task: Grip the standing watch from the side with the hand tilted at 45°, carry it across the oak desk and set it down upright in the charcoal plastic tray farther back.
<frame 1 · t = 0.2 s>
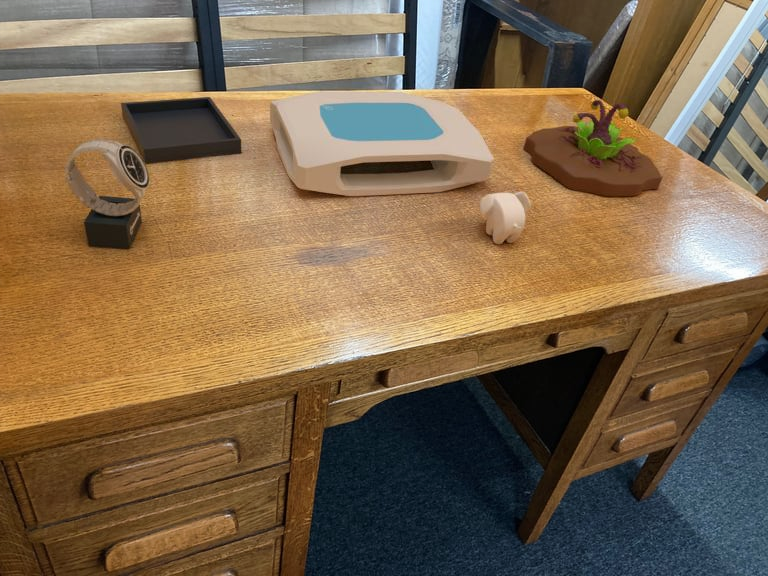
watch: (117, 235, 71), on the table
elephant figurine: (497, 236, 81), on the table
tray: (180, 134, 91), on the table
plant: (589, 167, 101), on the table
document scanner: (374, 160, 93), on the table
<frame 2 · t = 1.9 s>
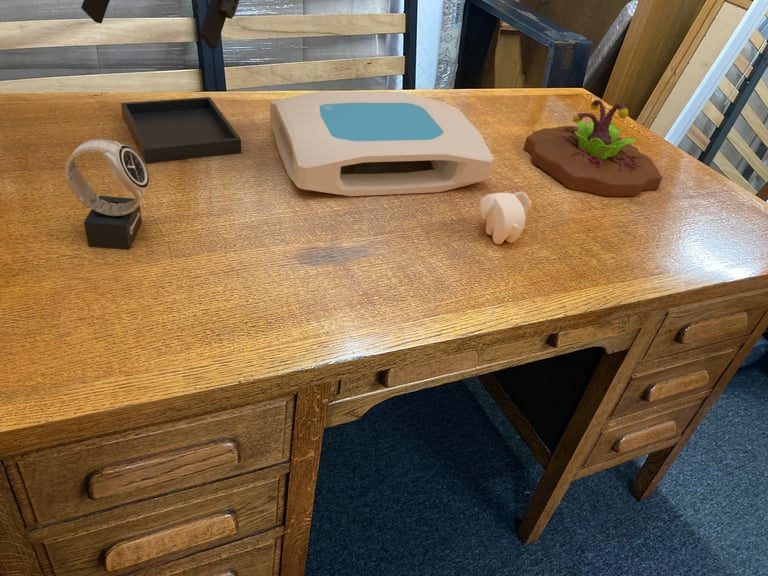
hand: (148, 29, 66), 20 cm above the table, tool tilted 45°, fingers open, 13 cm apart
nothing on the table moved.
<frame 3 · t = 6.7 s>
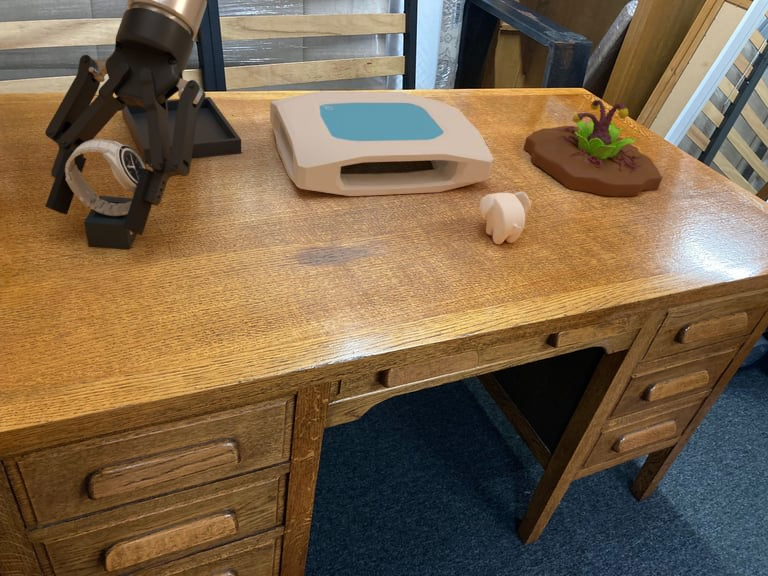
hand: (94, 220, 66), 4 cm above the table, tool tilted 45°, fingers closed on watch, 8 cm apart
watch: (117, 235, 71), on the table, touching gripper
everything else where it was.
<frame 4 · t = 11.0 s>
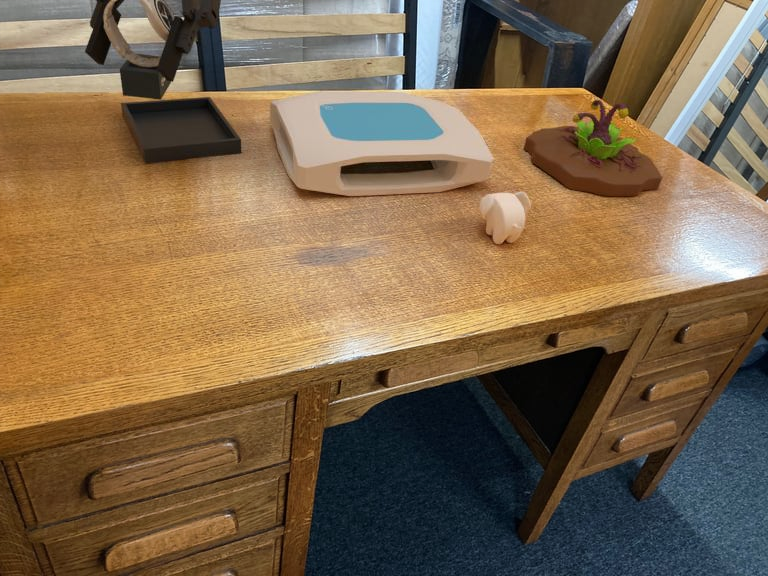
hand: (129, 66, 71), 15 cm above the table, tool tilted 45°, fingers closed on watch, 8 cm apart
watch: (148, 90, 76), point 11 cm above the table, touching gripper
everything else where it was.
when the fingers open (4 cm above the table, at t = 15.6 s): watch stays where it is, resting on tray.
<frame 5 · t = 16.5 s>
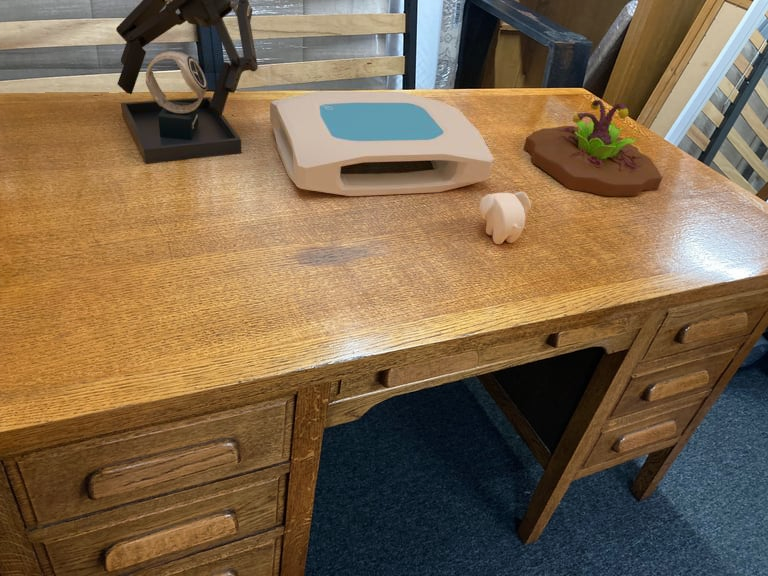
hand: (169, 100, 86), 6 cm above the table, tool tilted 45°, fingers open, 13 cm apart
watch: (180, 131, 91), resting on tray
everything else where it was.
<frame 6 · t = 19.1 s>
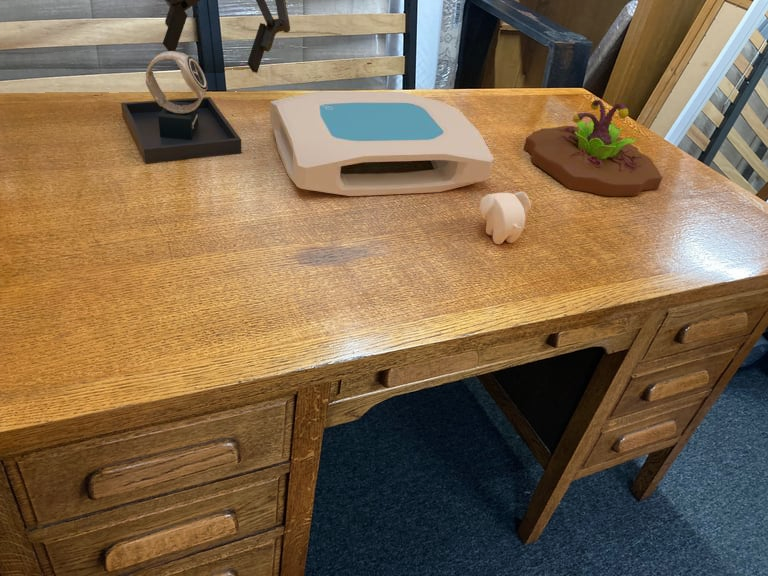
hand: (209, 58, 94), 8 cm above the table, tool tilted 45°, fingers open, 13 cm apart
nothing on the table moved.
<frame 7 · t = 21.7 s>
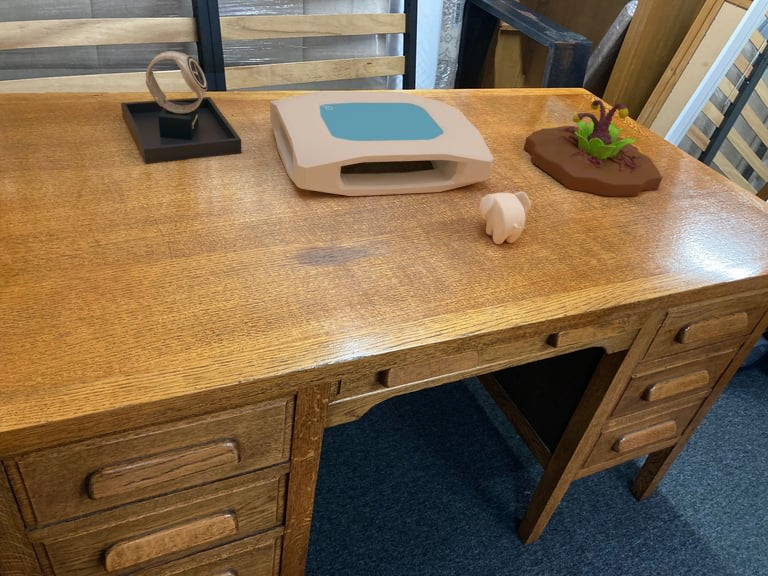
nothing on the table moved.
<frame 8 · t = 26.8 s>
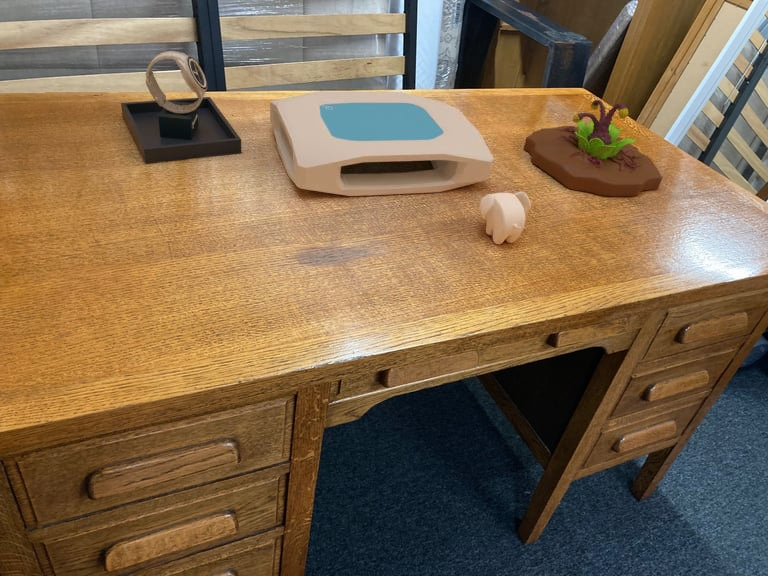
nothing on the table moved.
at the end: watch inside the target area in the tray (0.0 cm from its centre), point 0.4 cm above the tray's base; watch tilted 0°; the gripper is holding nothing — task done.
